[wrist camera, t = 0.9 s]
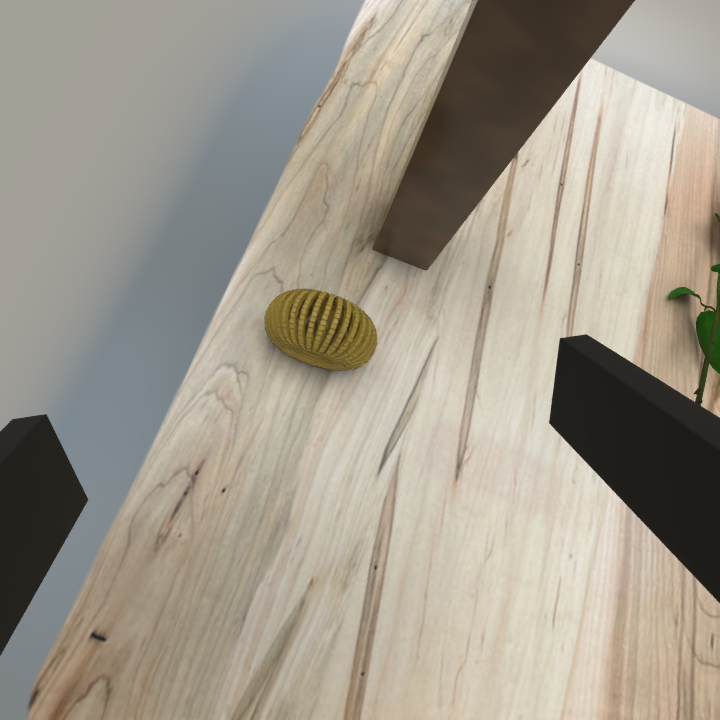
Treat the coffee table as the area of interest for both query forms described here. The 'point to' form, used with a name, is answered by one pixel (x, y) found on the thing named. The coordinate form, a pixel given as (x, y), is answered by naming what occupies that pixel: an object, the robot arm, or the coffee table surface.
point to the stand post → (487, 112)
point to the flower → (706, 332)
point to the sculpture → (320, 329)
